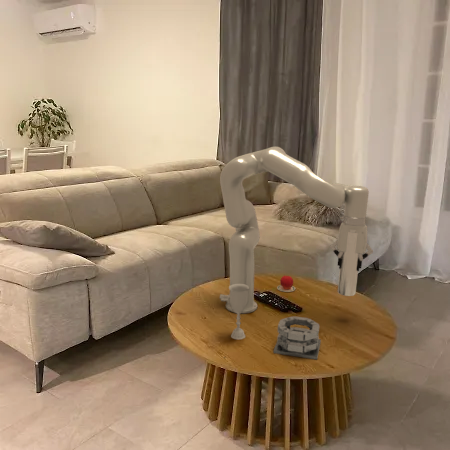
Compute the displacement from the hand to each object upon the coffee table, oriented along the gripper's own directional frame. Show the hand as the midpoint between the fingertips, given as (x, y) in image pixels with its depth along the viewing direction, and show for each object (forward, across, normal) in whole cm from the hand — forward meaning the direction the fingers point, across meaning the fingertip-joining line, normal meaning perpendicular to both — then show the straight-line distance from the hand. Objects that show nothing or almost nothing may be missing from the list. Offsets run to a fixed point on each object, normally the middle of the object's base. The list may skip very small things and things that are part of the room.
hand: (349, 268), depth 172 cm
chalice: (+22, -35, -24) cm, 48 cm away
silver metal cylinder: (+10, 0, 0) cm, 10 cm away
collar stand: (+21, -14, -26) cm, 36 cm away
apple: (+22, -26, +25) cm, 42 cm away
